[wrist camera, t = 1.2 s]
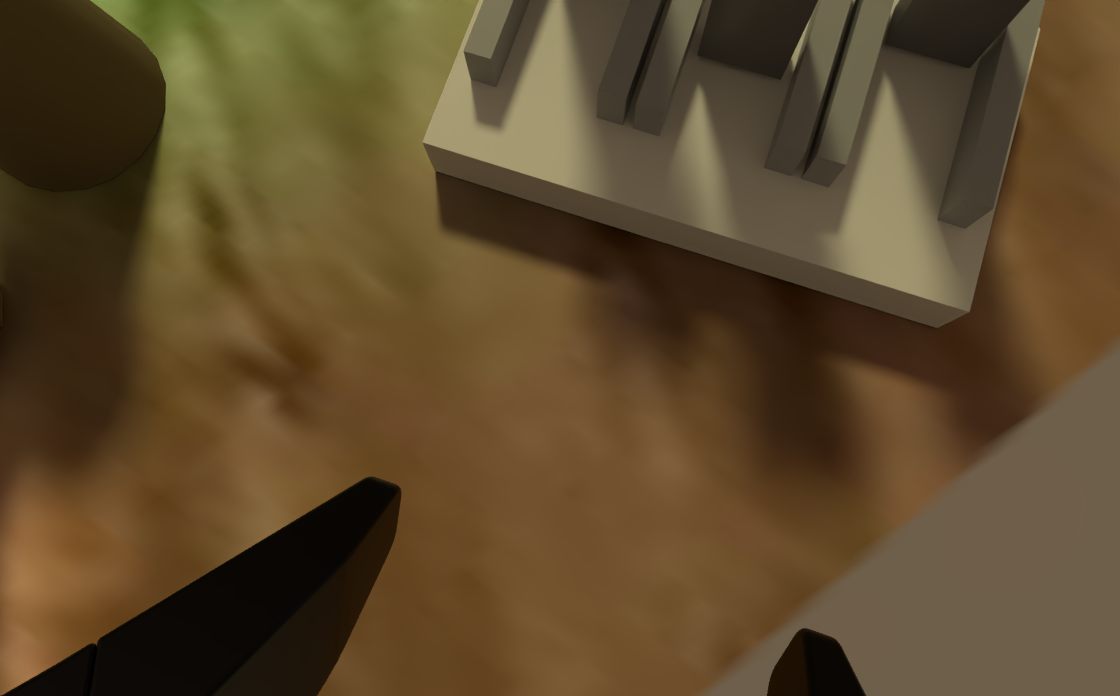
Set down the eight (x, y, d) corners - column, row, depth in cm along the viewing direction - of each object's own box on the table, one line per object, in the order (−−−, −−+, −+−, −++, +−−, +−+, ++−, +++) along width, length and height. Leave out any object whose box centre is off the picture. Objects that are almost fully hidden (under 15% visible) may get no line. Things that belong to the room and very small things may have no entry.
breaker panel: (936, 328, 24) (997, 297, 20) (435, 170, 25) (411, 117, 21) (1004, 65, 25) (1071, -4, 22) (529, -69, 27) (521, -154, 23)
